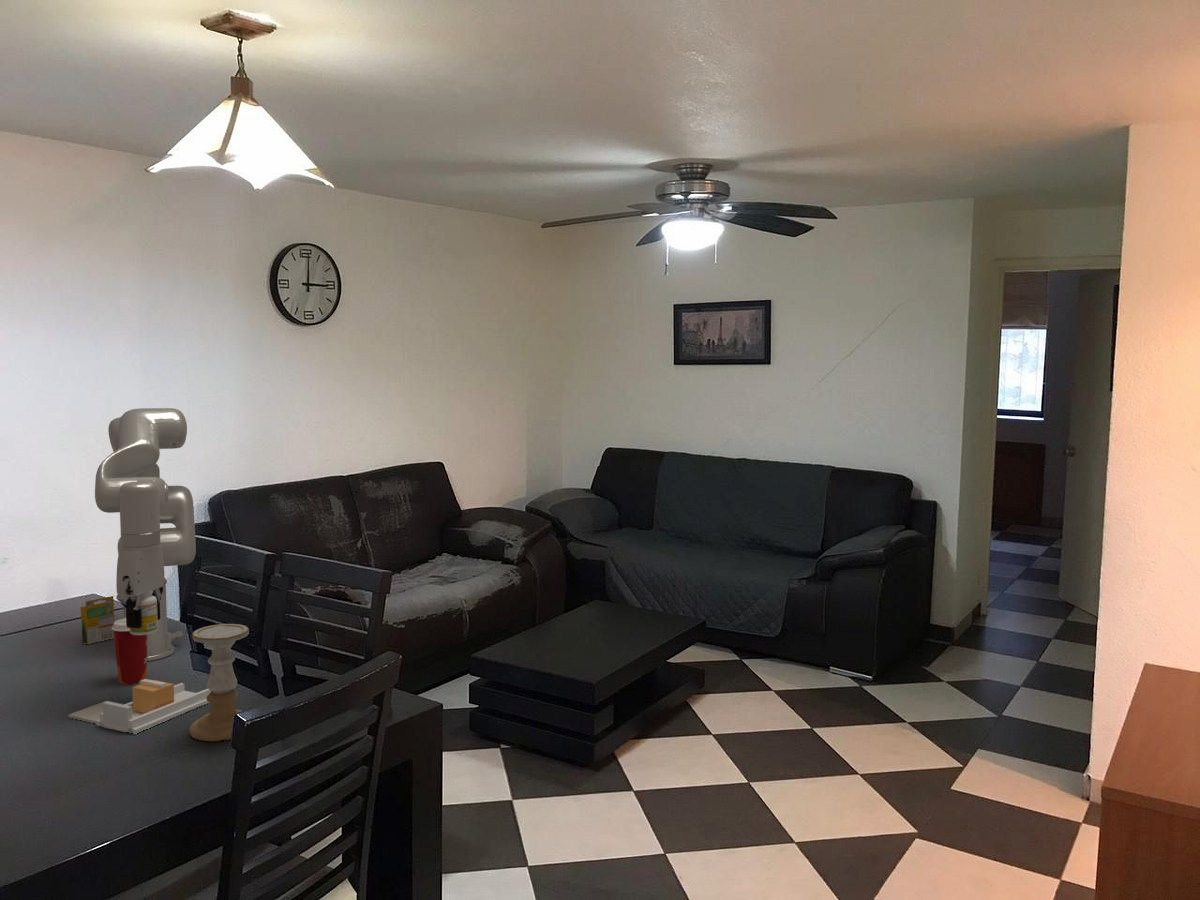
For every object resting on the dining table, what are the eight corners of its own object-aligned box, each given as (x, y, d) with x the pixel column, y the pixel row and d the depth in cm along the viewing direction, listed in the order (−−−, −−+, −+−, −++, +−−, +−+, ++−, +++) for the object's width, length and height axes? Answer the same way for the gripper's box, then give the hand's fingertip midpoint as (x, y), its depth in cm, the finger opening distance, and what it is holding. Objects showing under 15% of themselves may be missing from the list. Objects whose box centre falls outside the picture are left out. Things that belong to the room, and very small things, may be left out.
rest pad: (107, 703, 196) (106, 700, 196) (137, 709, 192) (137, 706, 192) (68, 717, 188) (67, 714, 188) (98, 724, 184) (98, 721, 184)
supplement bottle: (132, 629, 198) (130, 585, 197) (159, 627, 199) (158, 583, 198) (128, 636, 193) (126, 591, 192) (156, 634, 194) (154, 589, 193)
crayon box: (110, 636, 244) (108, 594, 243) (115, 638, 242) (114, 595, 241) (81, 643, 238) (80, 599, 237) (87, 645, 236) (85, 601, 235)
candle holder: (191, 746, 174) (188, 643, 172) (187, 724, 185) (184, 626, 183) (260, 735, 180) (257, 634, 178) (252, 714, 191) (250, 619, 189)
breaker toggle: (153, 702, 193) (152, 676, 193) (174, 707, 191) (173, 680, 190) (133, 710, 189) (132, 683, 188) (154, 715, 186) (153, 687, 186)
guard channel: (178, 693, 202) (177, 671, 202) (215, 701, 198) (214, 678, 197) (96, 725, 184) (95, 701, 183) (135, 734, 179) (134, 709, 179)
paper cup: (158, 678, 212) (156, 618, 211) (129, 688, 205) (127, 627, 204) (135, 673, 216) (133, 614, 214) (105, 682, 209) (103, 622, 207)
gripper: (150, 532, 203) (153, 612, 205) (96, 547, 186) (100, 634, 188) (181, 533, 202) (184, 614, 204) (130, 548, 185) (133, 636, 187)
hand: (143, 622), depth 196 cm, fingers closed on supplement bottle, 5 cm apart
